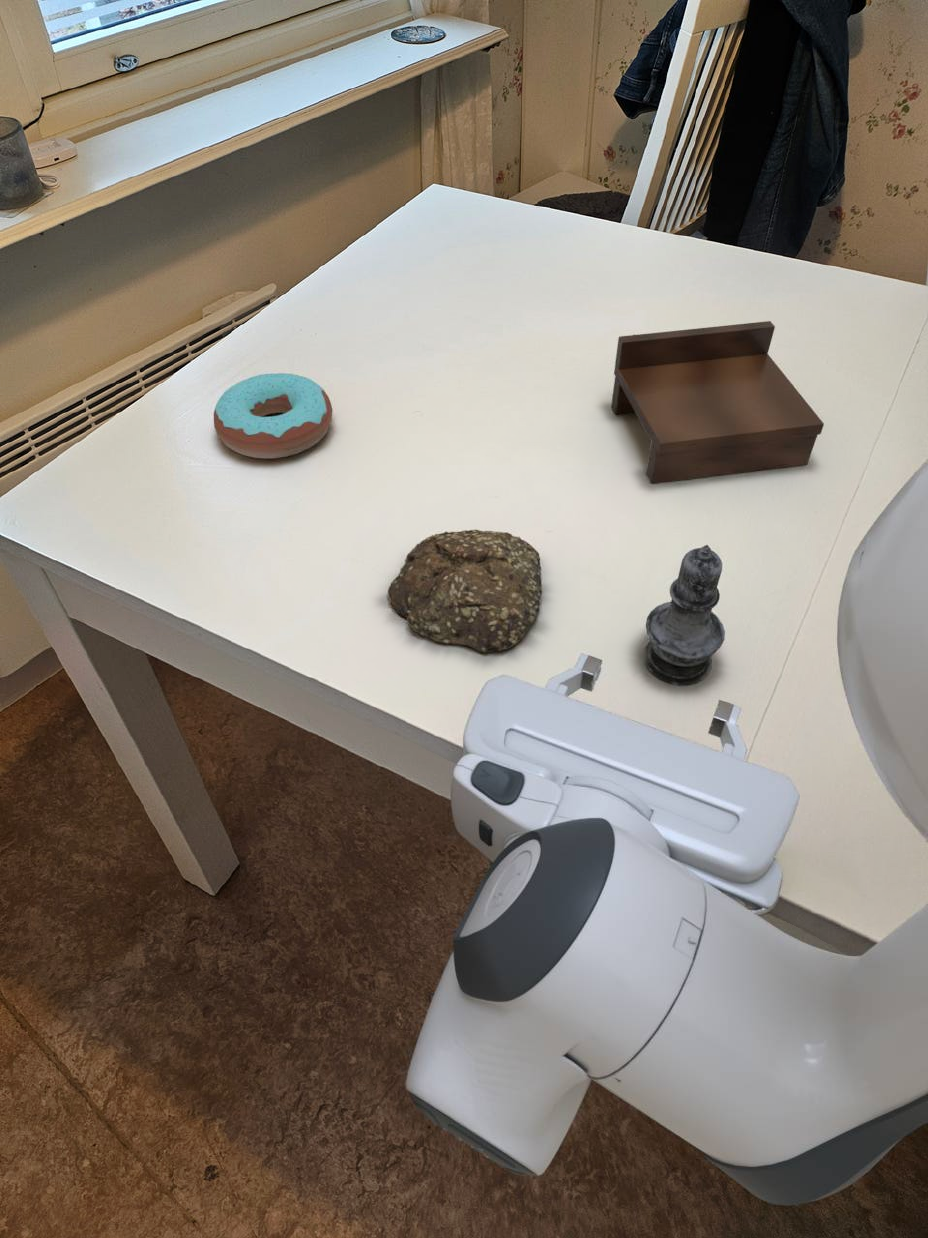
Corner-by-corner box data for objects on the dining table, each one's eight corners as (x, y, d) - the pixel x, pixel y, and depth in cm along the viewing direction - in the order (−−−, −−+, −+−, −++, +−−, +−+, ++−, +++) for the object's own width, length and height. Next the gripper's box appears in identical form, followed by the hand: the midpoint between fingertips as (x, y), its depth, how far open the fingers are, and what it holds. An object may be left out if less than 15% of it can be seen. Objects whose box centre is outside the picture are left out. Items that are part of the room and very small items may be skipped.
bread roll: (553, 557, 76) (557, 513, 73) (528, 662, 68) (531, 619, 64) (412, 536, 78) (409, 493, 75) (372, 636, 70) (366, 592, 66)
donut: (354, 442, 88) (350, 409, 85) (242, 481, 84) (234, 446, 81) (307, 387, 95) (301, 354, 92) (201, 420, 91) (192, 387, 88)
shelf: (752, 389, 94) (770, 320, 88) (809, 467, 85) (834, 395, 79) (609, 405, 92) (618, 336, 86) (652, 486, 83) (665, 415, 77)
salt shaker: (631, 675, 67) (654, 561, 58) (649, 623, 71) (674, 509, 62) (707, 697, 65) (743, 584, 57) (721, 643, 69) (757, 529, 60)
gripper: (784, 906, 44) (832, 709, 53) (428, 762, 50) (521, 606, 59) (756, 956, 49) (804, 767, 57) (432, 817, 55) (518, 666, 63)
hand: (658, 684), depth 58 cm, fingers open, 8 cm apart
